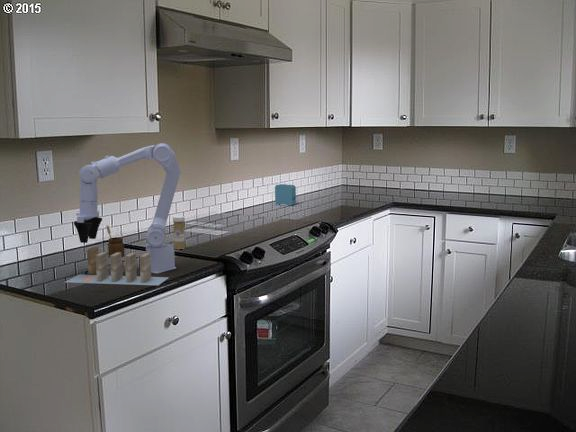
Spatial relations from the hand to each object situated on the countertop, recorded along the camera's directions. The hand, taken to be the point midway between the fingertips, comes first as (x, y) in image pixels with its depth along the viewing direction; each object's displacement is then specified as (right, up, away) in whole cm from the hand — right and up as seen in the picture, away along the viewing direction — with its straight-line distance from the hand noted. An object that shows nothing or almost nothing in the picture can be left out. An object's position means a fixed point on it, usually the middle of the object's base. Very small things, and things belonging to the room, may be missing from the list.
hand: (88, 240), depth 216 cm
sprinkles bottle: (+24, -5, +42) cm, 48 cm away
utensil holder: (+1, -7, +30) cm, 31 cm away
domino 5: (+22, -13, -9) cm, 27 cm away
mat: (+12, -13, -7) cm, 19 cm away
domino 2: (+7, -12, -7) cm, 16 cm away
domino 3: (+12, -13, -7) cm, 19 cm away
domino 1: (+1, -11, +4) cm, 12 cm away
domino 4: (+17, -13, -8) cm, 22 cm away
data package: (+66, +15, +164) cm, 178 cm away
